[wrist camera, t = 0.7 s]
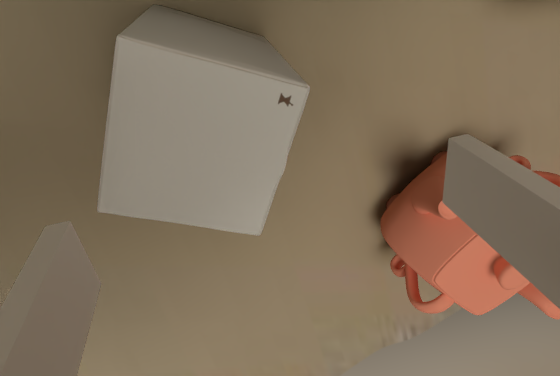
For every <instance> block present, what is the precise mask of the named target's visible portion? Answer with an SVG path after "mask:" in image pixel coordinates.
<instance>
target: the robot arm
mask: <svg viewBox="0 0 560 376" xmlns="http://www.w3.org/2000/svg"><path fill="white" fill-rule="evenodd" d="M442 202H443V203H444V204H445V205H446V206H447V207H448V208H449V209H450V210H451V211H452V212H454V213H455V214H456V215H457V216H458V217H459V218H460V219H461V220H462V221H463V222H465V223H466V224H467V225H468V226H469V227H470V228H471V229H472V230H473V231H474V232H476V233H477V234H478V235H479V236H480V237H481V238H482V239H483V240H484V241H485V242H487V243H488V244H489V245H490V246H491V247H492V248H493V249H494V250H495V251H496V252H498V253H499V254H500V255H501V256H502V257H503V258H504V259H505V260H506V261H507V262H509V263H510V264H511V265H512V266H513V267H514V268H515V269H516V270H517V271H518V272H520V273H521V274H522V275H523V276H524V277H525V278H526V279H527V280H528V281H529V282H530V283H532V284H533V285H534V286H535V287H536V288H537V289H538V290H539V291H540V292H541V293H543V294H544V295H545V296H546V297H547V298H548V299H549V300H550V301H551V302H552V303H554V304H555V305H556V306H557V307H558V308H559V309H560V187H558V186H557V185H555V184H553V183H552V182H550V181H548V180H546V179H545V178H543V177H541V176H540V175H538V174H536V173H535V172H533V171H531V170H529V169H528V168H526V167H524V166H523V165H521V164H519V163H517V162H516V161H514V160H512V159H511V158H509V157H507V156H505V155H504V154H502V153H500V152H499V151H497V150H495V149H493V148H492V147H490V146H488V145H487V144H485V143H483V142H481V141H480V140H478V139H476V138H475V137H473V136H471V135H470V134H465V135H460V136H456V137H451V138H449V140H448V150H447V160H446V170H445V180H444V190H443V200H442ZM100 287H101V281H100V279H99V277H98V275H97V273H96V271H95V269H94V267H93V265H92V263H91V261H90V259H89V257H88V255H87V253H86V251H85V249H84V247H83V245H82V243H81V241H80V239H79V237H78V235H77V233H76V231H75V229H74V227H73V225H72V223H71V221H66V222H61V223H57V224H52V225H48V226H45V227H44V229H43V231H42V233H41V235H40V237H39V238H38V240H37V242H36V244H35V246H34V248H33V249H32V251H31V253H30V255H29V257H28V259H27V260H26V262H25V264H24V266H23V268H22V270H21V271H20V273H19V275H18V277H17V279H16V281H15V283H14V284H13V286H12V288H11V290H10V292H9V294H8V295H7V297H6V299H5V301H4V303H3V305H2V306H1V308H0V376H77V373H78V369H79V366H80V362H81V358H82V354H83V351H84V347H85V343H86V339H87V336H88V332H89V328H90V324H91V321H92V317H93V313H94V309H95V306H96V302H97V298H98V294H99V291H100Z"/></svg>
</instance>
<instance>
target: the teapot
mask: <svg viewBox="0 0 560 376" xmlns="http://www.w3.org/2000/svg"><path fill="white" fill-rule="evenodd" d="M509 158H511V159H512V160H514V161H516V162H517V163H519V164H521V165H523V166H524V167H526V168H528V169H529V170H530V169H531V165H530V162H529V161H528V160H527V159H526V158H525V157H522V156H518V155H515V156H511V157H509ZM446 160H447V151H443V152H440V153H438V154H437V155H436V156H435V157H434V158H433V159H432V161H431V165H430V166H429V167H427V168H426V169H425V170H424V171H423V172H421V173H420V174H419V175H418V176H417V177H416V178H415V179H413V180H412V181H411V182H410V183H409V184H408V185H407V186H406V188H405V189H404V190H403V191H402V192H401V193H400V194H395V195H393V196H392V197H391V198H390V199H389V200H388V202H387V204H386V208H387V210H386V211H385V212H384V214H383V216H382V218H381V231H382V235H383V237H384V239H385V240H386V242H387V243H388V244H389V246H390V247H391V248H392V249H393V250H394V251H395V252H396V253H397V255H395V256H394V257H393V259H392V260H391V264H390V266H391V269H392V271H393V273H394V274H395V275H396V276H398V277H404V276H405V279H406V289H407V294H408V297H409V300H410V302H411V303H412V305H413V306H414V307H415V308H417V309H418V310H420V311H422V312H425V313H439V312H442V311H444V310H446V309H448V308H449V307H450V306H451V305H452V304H453V303H454V302H455V303H457V304H458V305H460V306H461V307H463V308H464V309H466V310H467V311H469V312H471V313H472V314H475V315H482V314H484V313H486V312H488V311H490V310H492V309H494V308H495V307H497V306H498V305H500V304H501V303H503V302H504V301H506V300H507V299H509V298H510V297H512V296H513V295H514V294H516V293H519V294H520V295H522V296H523V297H525V298H526V299H528V300H529V301H530V302H532V303H533V304H534V305H536V306H537V307H538V308H539V309H541V310H542V311H543V312H544V313H545V314H546V315H548V316H549V317H551V318H553V319H560V309H559V308H558V307H557V306H556V305H555V304H554V303H552V302H551V301H550V300H549V299H548V298H547V297H546V296H545V295H544V294H543V293H541V292H540V291H539V290H538V289H537V288H536V287H535V286H534V285H533V284H532V283H530V282H529V281H528V280H527V279H526V278H525V277H524V276H523V275H522V274H521V273H520V272H518V271H517V270H516V269H515V268H514V267H513V266H512V265H511V264H510V263H509V262H507V261H506V260H505V259H504V258H503V257H502V256H501V255H500V254H499V253H498V252H496V251H495V250H494V249H493V248H492V247H491V246H490V245H489V244H488V243H487V242H485V241H484V240H483V239H482V238H481V237H480V236H479V235H478V234H477V233H476V232H474V231H473V230H472V229H471V228H470V227H469V226H468V225H467V224H466V223H465V222H463V221H462V220H461V219H460V218H459V217H458V216H457V215H456V214H455V213H454V212H452V211H451V210H450V209H449V208H448V207H447V206H446V205H445V204H444V203H443V202H442V200H443V190H444V180H445V170H446ZM533 172H535V173H536V174H538V175H540V176H541V177H543V178H545V179H546V180H548V181H550V182H552V183H553V184H555V185H557V186H558V187H560V176H559V175H557V174H553V173H549V172H542V171H533ZM403 265H405V266H404V267H402V266H403ZM401 267H402V268H401ZM417 274H419V275H420V276H421V277H422V278H423V279H424V280H426V281H427V282H428V283H429V284H431V285H432V286H433V287H435V288H436V289H437V290H439V291H440V292H441V293H442V294H441V295H439V296H438V297H437V298H436V299H434V300H432V301H429V302H422V300H421V298H420V294H419V289H418V277H417Z"/></svg>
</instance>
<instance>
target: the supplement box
mask: <svg viewBox="0 0 560 376" xmlns="http://www.w3.org/2000/svg"><path fill="white" fill-rule="evenodd" d="M309 91H310V87H309V85H308V84H307V83H306V82H305V81H304V80H303V79H302V78H301V77H300V76H299V75H298V74H297V73H296V71H295V70H294V69H293V68H292V67H291V66H290V65H289V64H288V63H287V62H286V60H285V59H284V58H283V57H282V56H281V55H280V54H279V53H278V52H277V50H276V49H275V48H274V47H273V46H272V45H271V44H270V43H269V42H268V41H267V40H266V38H265V37H263V36H260V35H257V34H253V33H250V32H247V31H243V30H240V29H237V28H234V27H230V26H227V25H224V24H221V23H217V22H214V21H211V20H208V19H204V18H201V17H198V16H195V15H191V14H188V13H185V12H182V11H178V10H175V9H171V8H168V7H164V6H160V5H152V6H151V7H150V8H148V9H147V10H146V11H145V12H144V13H143V14H142V15H140V16H139V17H138V18H137V19H136V20H135V21H134V22H132V23H131V24H130V25H129V26H128V27H127V28H126V29H124V30H123V31H122V32H121V33H120V34H119V35H117V37H116V43H115V52H114V61H113V69H112V77H111V86H110V94H109V103H108V112H107V120H106V129H105V138H104V147H103V156H102V165H101V174H100V183H99V193H98V204H97V211H98V212H100V213H109V214H115V215H121V216H128V217H135V218H142V219H150V220H158V221H165V222H172V223H179V224H186V225H192V226H198V227H205V228H211V229H217V230H223V231H230V232H236V233H243V234H251V235H257V236H259V235H260V234H261V233H262V230H263V227H264V224H265V221H266V219H267V216H268V213H269V210H270V207H271V204H272V201H273V198H274V195H275V192H276V189H277V186H278V183H279V180H280V178H281V176H282V175H283V172H284V169H285V166H286V162H287V157H288V154H289V151H290V148H291V145H292V142H293V139H294V136H295V133H296V130H297V127H298V124H299V121H300V118H301V116H302V113H303V110H304V107H305V104H306V100H307V97H308V94H309Z"/></svg>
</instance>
